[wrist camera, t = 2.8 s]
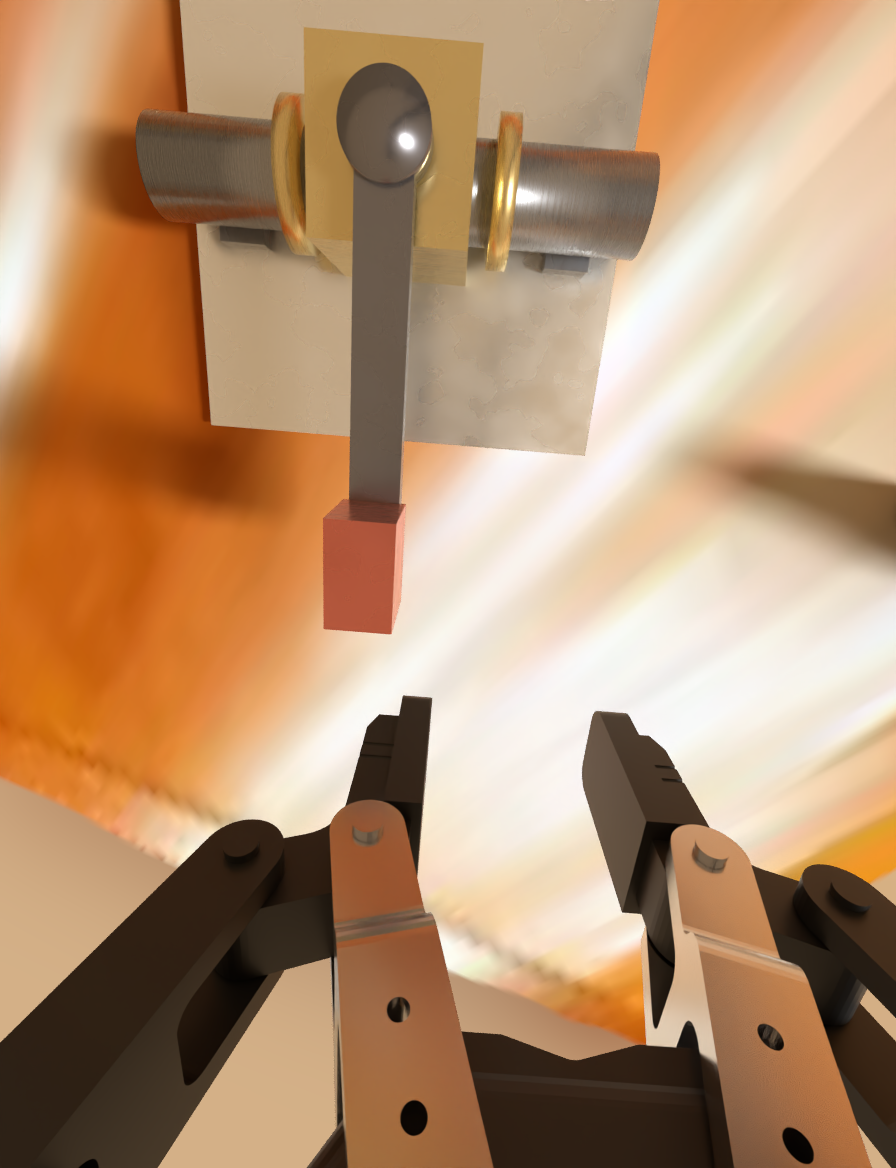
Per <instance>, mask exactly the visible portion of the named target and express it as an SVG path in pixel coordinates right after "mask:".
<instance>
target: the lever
mask: <svg viewBox="0 0 896 1168" xmlns="http://www.w3.org/2000/svg"><path fill="white" fill-rule="evenodd" d="M336 125H337V133H338V137H339V141H340V144H341V147H342V149H343V151H344V153H345V155H346V158H347V160H348V162H349V164H350V166H351V168H352V170H353V172H354V174H353V250H352V326H351V402H350V478H349V500H347V499H343V500H342V501H341V502H340V503H339V504H338V505H337V506H336V507H335V508H334V509H333V510H331V511H330V512H329V513H328V514H327V515H326V516H325V517H324V518H323V585H324V629H330V630H343V631H355V632H368V633H380V634H392V631H393V627H394V623H395V620H396V616H397V613H398V609H399V605H400V602H401V588H402V568H403V548H404V528H405V509H406V504H401V498H402V477H403V456H404V435H405V414H406V393H407V372H408V351H409V330H410V309H411V288H412V267H413V246H414V225H415V205H416V185H417V184H418V183H419V182H420V180H421V179H422V178H423V177H424V175H425V173H426V172H427V170H428V168H429V165H430V162H431V159H432V154H433V147H434V138H433V128H432V119H431V111H430V106H429V102H428V99H427V97H426V94H425V92H424V90H423V89H422V87H421V85H420V84H419V82H418V81H417V80H416V79H415V78H414V77H413V76H412V75H411V74H410V73H409V72H408V71H406V70H405V69H403V68H402V67H400V66H397V65H394V64H391V63H374V64H370V65H367V66H365V67H363V68H362V69H360V70H359V71H357V72H356V73H355V74H354V75H353V76H352V77H351V78H350V79H349V81H348V82H347V83H346V85H345V87H344V89H343V91H342V93H341V96H340V99H339V102H338V107H337V115H336Z"/></svg>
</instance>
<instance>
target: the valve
mask: <svg viewBox="0 0 896 1168" xmlns="http://www.w3.org/2000/svg"><path fill="white" fill-rule="evenodd" d="M658 6H659V0H180V11H181V25H182V38H183V52H184V65H185V79H186V92H187V105H188V112H180V111H168V110H156V109H145V110H143V111H142V112H141V113H140V115H139V117H138V121H137V126H136V150H137V158H138V163H139V168H140V172H141V176H142V179H143V182H144V185H145V188H146V190H147V193H148V195H149V197H150V199H151V201H152V203H153V205H154V207H155V208H156V210H157V211H158V213H159V214H160V215H161V216H162V217H163V218H164V219H166V220H168V221H171V222H183V223H194V224H196V227H197V240H198V254H199V267H200V280H201V294H202V307H203V321H204V334H205V348H206V361H207V375H208V388H209V402H210V415H211V425H217V426H229V427H242V428H254V429H266V430H278V431H290V432H302V433H315V434H327V435H339V436H350V402H351V326H352V250H353V174H354V172H353V170H352V168H351V166H350V164H349V162H348V160H347V158H346V155H345V153H344V151H343V149H342V147H341V144H340V141H339V137H338V133H337V125H336V115H337V107H338V102H339V99H340V96H341V93H342V91H343V89H344V87H345V85H346V83H347V82H348V81H349V79H350V78H351V77H352V76H353V75H354V74H355V73H356V72H357V71H359V70H360V69H362V68H363V67H365V66H367V65H370V64H374V63H391V64H394V65H397V66H400V67H402V68H403V69H405V70H406V71H408V72H409V73H410V74H411V75H412V76H413V77H414V78H415V79H416V80H417V81H418V82H419V84H420V85H421V87H422V89H423V90H424V92H425V94H426V97H427V99H428V102H429V106H430V111H431V119H432V128H433V138H434V147H433V154H432V159H431V162H430V165H429V168H428V170H427V172H426V173H425V175H424V177H423V178H422V179H421V180H420V182H419V183H418V184H417V185H416V205H415V225H414V246H413V267H412V288H411V309H410V330H409V351H408V372H407V393H406V414H405V435H404V441H412V442H424V443H436V444H448V445H461V446H473V447H485V448H497V449H509V450H521V451H534V452H546V453H558V454H570V455H582V456H585V451H586V445H587V439H588V433H589V427H590V421H591V415H592V409H593V402H594V396H595V390H596V384H597V378H598V372H599V366H600V360H601V354H602V348H603V341H604V335H605V329H606V323H607V317H608V311H609V305H610V299H611V293H612V287H613V280H614V274H615V268H616V262H617V260H629V261H631V260H633V259H634V258H635V257H636V256H637V254H638V252H639V250H640V248H641V246H642V244H643V242H644V239H645V237H646V234H647V231H648V228H649V225H650V221H651V218H652V214H653V210H654V206H655V202H656V196H657V191H658V184H659V175H660V161H659V156H658V154H657V153H652V152H641V151H635V146H636V140H637V134H638V128H639V122H640V116H641V110H642V104H643V97H644V91H645V85H646V79H647V73H648V67H649V61H650V55H651V49H652V43H653V36H654V30H655V24H656V18H657V12H658Z"/></svg>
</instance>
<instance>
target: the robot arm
mask: <svg viewBox="0 0 896 1168" xmlns="http://www.w3.org/2000/svg"><path fill="white" fill-rule="evenodd" d="M431 707H432V698H429V697H416V696H404V695H403V698H402V703H401V709H400V714H399V716H393V715H380V714H379V715H378V716H377V717H376V718H375V719H374V720H373V721H372V722H371V723H370V724H369V726H368V727H367V730H366V733H365V737H364V741H363V745H362V748H361V752H360V757H359V759H358V763H357V766H356V770H355V773H354V777H353V781H352V784H351V788H350V792H349V795H348V799H347V803H346V806H345V807H344V808H342V809H341V810H340V811H339V812H338V813H337V814H336V815H335V816H334V818H333V820H332V822H331V824H330V825H328V826H326V827H325V828H323V829H321V830H318V831H315V832H312V833H308V834H304V835H299V836H294V837H288V838H283V836H282V834H281V832H280V831H279V829H278V828H277V827H275V826H274V825H273V824H271V823H269V822H266V821H262V820H242V821H238V822H234V823H231V824H229V825H226V826H224V827H223V828H221V829H219V830H218V831H216V832H215V833H214V834H212V835H211V836H210V837H209V838H208V839H207V840H206V841H205V842H204V843H203V844H202V845H201V846H200V847H199V848H198V849H197V850H196V851H195V852H194V853H193V854H192V855H191V856H190V857H189V858H188V859H187V860H186V861H185V862H184V863H182V864H181V865H180V866H179V867H178V868H177V869H176V871H174V872H173V873H172V874H171V875H170V876H169V877H168V878H167V879H166V880H165V881H164V882H163V883H162V884H161V885H160V886H159V887H158V888H157V889H156V890H155V891H154V892H153V893H152V894H151V895H150V896H149V897H148V898H147V899H146V900H145V901H144V902H143V903H142V904H141V905H140V906H139V907H138V908H137V909H136V910H135V911H134V912H133V913H132V914H131V915H130V916H129V917H128V918H127V919H126V920H125V921H124V922H123V923H121V925H120V926H118V927H117V928H116V929H115V930H114V931H113V932H112V933H111V934H110V935H109V936H108V937H107V938H106V939H105V940H104V941H103V942H102V943H101V944H100V945H99V946H98V947H97V948H96V949H95V950H94V951H93V952H92V953H91V954H90V955H89V956H88V957H87V958H86V959H85V960H84V961H83V962H82V963H81V964H80V965H79V966H78V967H77V968H76V969H75V970H74V971H73V972H72V973H71V974H70V975H69V976H68V977H67V978H66V979H65V980H63V981H62V982H61V983H60V985H58V987H56V988H55V989H54V990H53V991H52V992H51V993H50V994H49V995H48V996H47V997H46V998H45V999H44V1000H43V1001H42V1002H41V1003H40V1004H39V1005H38V1006H37V1007H36V1008H35V1009H34V1010H33V1011H32V1012H31V1013H30V1014H29V1015H28V1016H27V1017H26V1018H25V1019H24V1020H23V1021H22V1022H21V1023H20V1024H19V1025H18V1026H17V1027H16V1028H15V1029H14V1030H13V1031H12V1032H11V1033H10V1034H9V1035H8V1036H7V1037H6V1038H4V1040H2V1041H1V1042H0V1168H158V1166H159V1165H160V1163H161V1162H162V1160H163V1159H164V1157H165V1155H166V1154H167V1152H168V1151H169V1149H170V1148H171V1146H172V1145H173V1143H174V1142H175V1140H176V1138H177V1137H178V1135H179V1134H180V1132H181V1131H182V1129H183V1127H184V1126H185V1124H186V1123H187V1121H188V1120H189V1118H190V1117H191V1115H192V1113H193V1112H194V1110H195V1109H196V1107H197V1106H198V1104H199V1103H200V1101H201V1100H202V1098H203V1097H204V1095H205V1093H206V1092H207V1090H208V1089H209V1087H210V1086H211V1084H212V1082H213V1081H214V1079H215V1078H216V1076H217V1075H218V1073H219V1072H220V1070H221V1069H222V1067H223V1065H224V1064H225V1062H226V1061H227V1059H228V1058H229V1056H230V1055H231V1053H232V1051H233V1050H234V1048H235V1047H236V1045H237V1044H238V1042H239V1041H240V1039H241V1037H242V1036H243V1034H244V1033H245V1031H246V1030H247V1028H248V1026H249V1025H250V1024H251V1022H252V1020H253V1018H254V1017H255V1016H256V1014H257V1013H258V1011H259V1010H260V1008H261V1006H262V1005H263V1003H264V1002H265V1000H266V998H267V997H268V995H269V994H270V992H271V991H272V989H273V988H274V986H275V985H276V983H277V982H278V980H279V978H280V977H281V975H282V973H283V972H284V970H286V969H290V968H293V967H297V966H301V965H304V964H308V963H312V962H315V961H319V960H323V959H326V958H330V965H331V989H332V990H331V991H332V1017H333V1041H334V1042H333V1043H334V1086H335V1087H334V1088H335V1120H336V1129H335V1131H334V1132H333V1134H332V1135H331V1136H330V1138H329V1139H328V1140H327V1141H326V1143H325V1144H324V1146H323V1147H322V1148H321V1150H320V1151H319V1152H318V1154H317V1155H316V1156H315V1158H314V1159H313V1160H312V1162H311V1163H310V1164H309V1166H308V1167H307V1168H872V1167H871V1164H870V1161H869V1158H868V1155H867V1152H866V1149H865V1146H864V1143H863V1140H862V1137H861V1134H860V1131H859V1128H858V1126H859V1127H860V1128H861V1129H862V1131H863V1132H864V1133H865V1135H866V1136H867V1137H868V1138H869V1140H870V1141H871V1142H872V1144H873V1145H874V1146H875V1147H876V1149H877V1150H878V1151H879V1152H880V1154H881V1155H882V1156H883V1157H884V1159H885V1160H886V1161H887V1163H888V1164H889V1165H890V1167H891V1168H896V1041H895V1040H894V1039H893V1038H892V1037H891V1036H890V1035H889V1034H888V1033H887V1032H886V1031H885V1029H884V1028H883V1027H882V1026H881V1025H880V1024H879V1023H878V1022H877V1021H876V1020H875V1019H874V1018H873V1017H872V1016H871V1015H870V1013H869V1012H868V1011H867V1010H866V1009H865V1008H864V1007H863V1006H862V1005H861V1004H860V1002H861V1000H862V998H863V996H864V994H865V992H866V990H867V989H868V990H869V991H870V992H871V993H872V994H873V995H874V996H875V997H876V998H877V999H878V1000H879V1001H880V1002H881V1003H882V1004H883V1005H884V1006H885V1007H886V1008H887V1009H888V1010H889V1011H890V1012H891V1013H892V1014H893V1016H894V1017H895V1018H896V906H895V905H894V904H893V903H892V902H890V901H889V900H888V899H887V898H886V897H885V896H883V895H882V894H881V893H880V892H879V891H878V890H876V889H875V888H874V887H873V886H871V885H870V884H869V883H867V882H866V881H864V880H863V879H861V878H859V877H858V876H856V875H854V874H852V873H850V872H848V871H845V870H843V869H840V868H837V867H834V866H829V865H820V864H817V865H812V866H809V867H807V868H806V869H805V870H804V872H803V874H802V876H801V878H800V881H796V880H793V879H790V878H787V877H784V876H781V875H778V874H775V873H772V872H769V871H765V870H762V869H760V868H757V867H755V866H752V865H751V863H750V860H749V858H748V857H747V855H746V853H745V852H744V851H743V850H742V848H741V847H740V846H738V845H737V844H736V843H735V842H734V841H733V840H731V839H730V838H729V837H727V836H726V835H724V834H722V833H720V832H718V831H716V830H714V829H712V828H710V827H709V826H708V824H707V822H706V820H705V819H704V817H703V815H702V813H701V812H700V810H699V808H698V806H697V805H696V803H695V801H694V799H693V798H692V796H691V794H690V792H689V791H688V789H687V787H686V785H685V784H684V783H682V778H681V777H680V775H679V773H678V771H677V770H675V766H674V764H673V763H672V761H671V759H670V757H669V756H668V754H667V752H666V750H664V749H663V748H662V747H661V746H660V745H659V744H658V743H656V742H655V741H654V740H653V739H652V738H651V737H650V736H643V735H639V734H638V732H637V730H636V728H635V726H634V724H633V723H632V721H631V719H630V717H629V715H628V714H626V713H615V712H602V711H596V712H595V713H594V714H593V717H592V721H591V725H590V730H589V735H588V740H587V745H586V750H585V755H584V760H583V767H582V780H583V788H584V791H585V795H586V798H587V801H588V804H589V808H590V811H591V814H592V817H593V820H594V824H595V827H596V830H597V833H598V837H599V840H600V843H601V846H602V849H603V853H604V856H605V859H606V862H607V865H608V869H609V872H610V875H611V878H612V882H613V885H614V888H615V891H616V894H617V898H618V901H619V904H620V907H621V910H622V912H623V913H637V914H642V917H643V920H644V922H645V928H644V932H643V935H642V939H641V955H642V973H643V991H644V1009H645V1027H646V1045H636V1046H632V1047H628V1048H624V1049H621V1050H616V1051H613V1052H609V1053H605V1054H601V1055H598V1056H594V1057H590V1058H586V1059H582V1060H569V1059H566V1058H563V1057H560V1056H558V1055H555V1054H552V1053H550V1052H547V1051H544V1050H541V1049H539V1048H536V1047H533V1046H531V1045H528V1044H526V1043H523V1042H520V1041H518V1040H515V1039H512V1038H509V1037H507V1036H504V1035H501V1034H487V1033H473V1032H461V1028H460V1023H459V1019H458V1015H457V1010H456V1006H455V1002H454V998H453V993H452V989H451V985H450V981H449V976H448V972H447V968H446V964H445V959H444V955H443V951H442V946H441V942H440V938H439V934H438V930H437V926H436V922H435V919H434V917H433V915H432V913H431V912H429V913H425V910H424V907H423V902H422V898H421V893H420V889H419V884H418V879H417V874H418V862H419V851H420V839H421V828H422V816H423V805H424V793H425V781H426V770H427V758H428V745H429V732H430V719H431ZM857 1124H858V1125H857Z"/></svg>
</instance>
